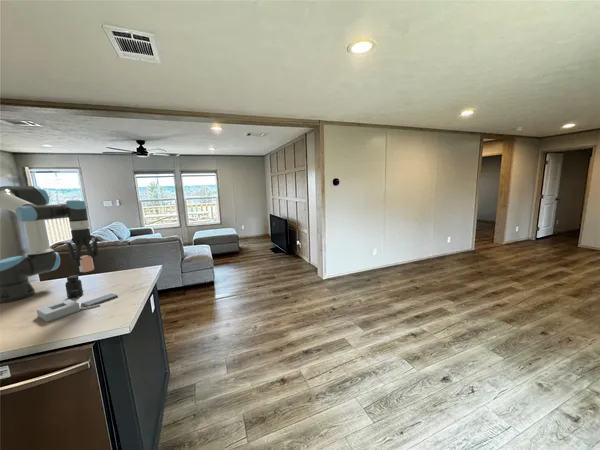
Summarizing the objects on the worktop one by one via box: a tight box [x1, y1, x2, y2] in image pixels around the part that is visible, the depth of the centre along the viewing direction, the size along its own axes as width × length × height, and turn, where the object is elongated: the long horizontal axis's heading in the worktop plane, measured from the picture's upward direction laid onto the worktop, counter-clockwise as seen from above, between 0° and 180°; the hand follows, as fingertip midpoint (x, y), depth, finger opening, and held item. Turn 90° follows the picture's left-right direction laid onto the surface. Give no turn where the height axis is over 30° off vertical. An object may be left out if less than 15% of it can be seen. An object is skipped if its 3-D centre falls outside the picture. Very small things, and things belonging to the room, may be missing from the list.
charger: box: [80, 254, 94, 273], centre depth 134 cm, size 4×4×9 cm
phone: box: [80, 293, 119, 308], centre depth 132 cm, size 7×14×1 cm, turn 151°
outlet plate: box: [36, 298, 81, 323], centre depth 119 cm, size 12×12×4 cm
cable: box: [80, 303, 102, 311], centre depth 125 cm, size 8×1×1 cm, turn 121°
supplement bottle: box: [64, 274, 84, 300], centre depth 140 cm, size 7×7×12 cm
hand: (87, 270), depth 134 cm, fingers closed on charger, 4 cm apart
